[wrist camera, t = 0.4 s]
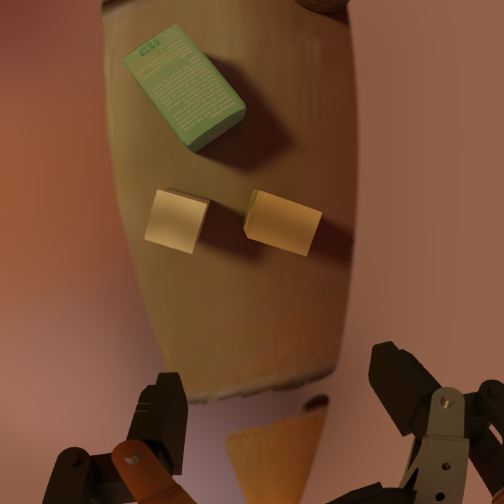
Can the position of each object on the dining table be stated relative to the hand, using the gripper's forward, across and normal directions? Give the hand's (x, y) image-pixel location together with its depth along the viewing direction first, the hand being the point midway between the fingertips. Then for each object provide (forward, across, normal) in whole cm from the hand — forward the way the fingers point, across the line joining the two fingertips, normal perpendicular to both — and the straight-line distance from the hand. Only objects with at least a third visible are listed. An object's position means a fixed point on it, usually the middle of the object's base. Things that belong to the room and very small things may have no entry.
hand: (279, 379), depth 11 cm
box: (+27, +5, -18) cm, 33 cm away
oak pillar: (+26, -4, -2) cm, 27 cm away
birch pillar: (+26, +7, -4) cm, 27 cm away
